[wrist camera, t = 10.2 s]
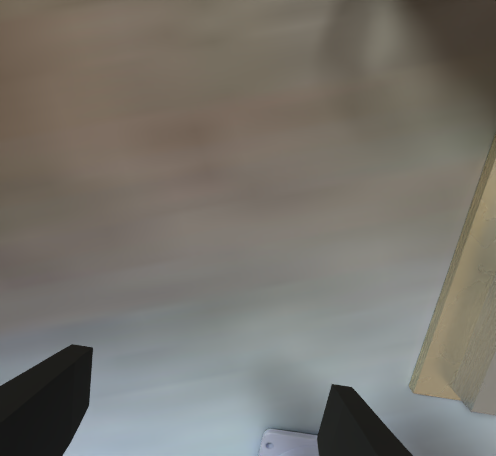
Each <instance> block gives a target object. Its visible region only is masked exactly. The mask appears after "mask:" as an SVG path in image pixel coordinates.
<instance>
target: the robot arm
mask: <svg viewBox="0 0 496 456" xmlns="http://www.w3.org/2000/svg"><path fill="white" fill-rule="evenodd" d="M92 353H93V348H92V347H86V346H79V345H73V344H72V345H70V346H68V347H66V348H65V349H63V350H61V351H59V352H58V353H56V354H54V355H53V356H51V357H49V358H48V359H46V360H44V361H43V362H41V363H39V364H37V365H36V366H34V367H32V368H31V369H29V370H27V371H25V372H24V373H22V374H20V375H19V376H17V377H15V378H13V379H12V380H10V381H8V382H6V383H5V384H3V385H1V386H0V456H62V455H63V454H64V452H65V451H66V449H67V447H68V446H69V444H70V443H71V441H72V439H73V437H74V435H75V433H76V431H77V429H78V427H79V425H80V423H81V421H82V419H83V417H84V415H85V413H86V411H87V409H88V406H89V398H90V383H91V368H92ZM268 443H271V444H268ZM258 456H413V455H412V454H411V453H410V452H409V451H408V450H407V449H406V448H405V447H404V446H403V444H402V443H401V442H400V441H399V440H398V439H397V438H396V437H395V436H394V434H393V433H392V432H391V431H390V430H389V429H388V428H387V426H386V425H385V424H384V423H383V422H382V421H381V420H380V418H379V417H378V416H377V415H376V414H375V413H374V412H373V410H372V409H371V408H370V407H369V406H368V405H367V403H366V402H365V401H364V400H363V399H362V398H361V397H360V396H359V394H358V393H357V392H356V391H355V390H354V389H353V388H352V387H348V386H341V385H334V384H332V386H331V390H330V393H329V397H328V401H327V404H326V408H325V411H324V415H323V419H322V422H321V426H320V429H319V433H318V435H311V434H304V433H297V432H291V431H284V430H277V429H267V430H266V431H264V433H263V437H262V441H261V446H260V450H259V455H258Z"/></svg>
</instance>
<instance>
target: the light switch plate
mask: <svg viewBox="0 0 496 456" xmlns="http://www.w3.org/2000/svg"><path fill="white" fill-rule="evenodd" d="M409 387H410V389H411V390H412V392H413V393H415V394H422V395H428V396H435V397H441V398H448V399H454V400H461V401H463V403H464V404H465V405H466V406H467V407H468V408H469V410H470V411H471V412H478V413H484V414H491V415H496V134H495V137H494V140H493V143H492V146H491V149H490V152H489V154H488V157H487V160H486V163H485V166H484V169H483V172H482V175H481V178H480V181H479V183H478V186H477V189H476V192H475V195H474V198H473V201H472V204H471V207H470V210H469V213H468V215H467V218H466V221H465V224H464V227H463V230H462V233H461V236H460V239H459V242H458V244H457V247H456V250H455V253H454V256H453V259H452V262H451V265H450V268H449V271H448V274H447V276H446V279H445V282H444V285H443V288H442V291H441V294H440V297H439V300H438V303H437V305H436V308H435V311H434V314H433V317H432V320H431V323H430V326H429V329H428V332H427V335H426V337H425V340H424V343H423V346H422V349H421V352H420V355H419V358H418V361H417V364H416V366H415V369H414V372H413V375H412V378H411V381H410V384H409Z"/></svg>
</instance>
